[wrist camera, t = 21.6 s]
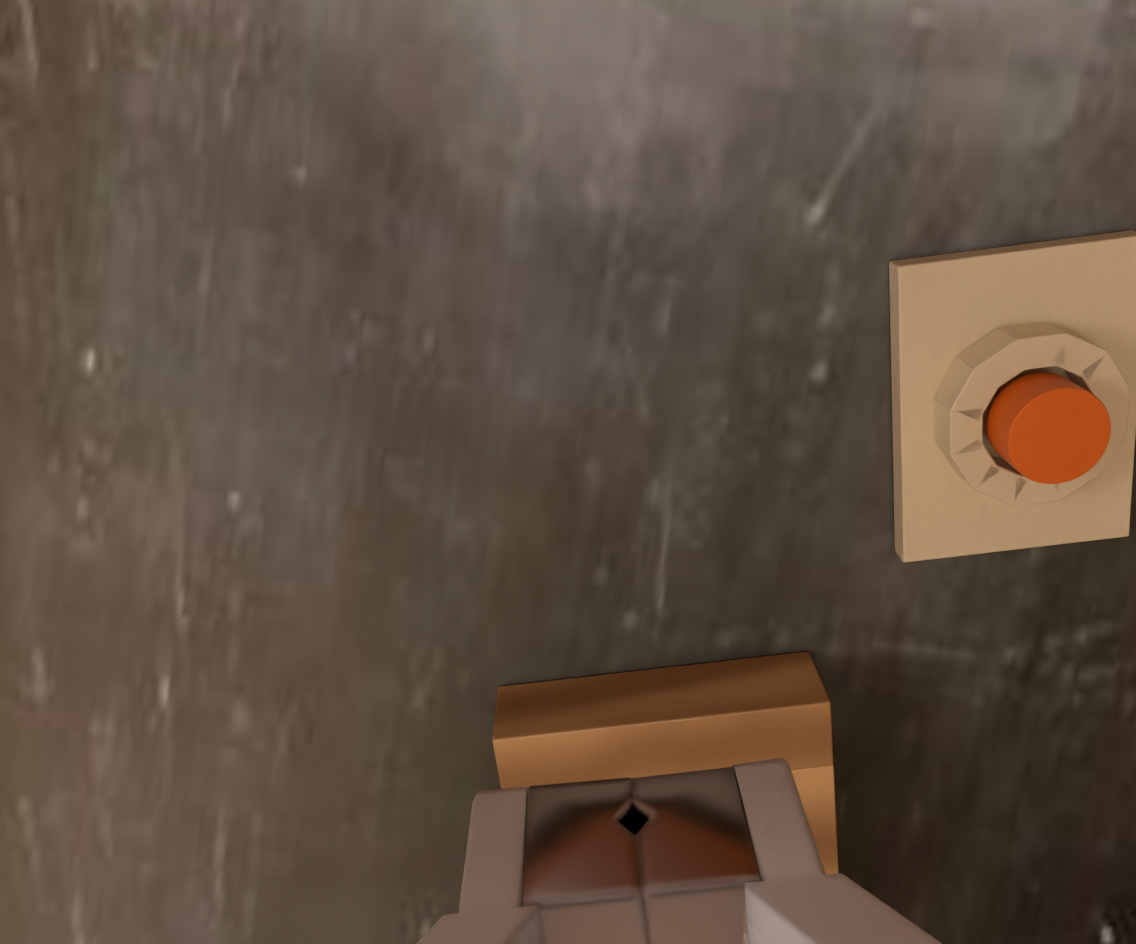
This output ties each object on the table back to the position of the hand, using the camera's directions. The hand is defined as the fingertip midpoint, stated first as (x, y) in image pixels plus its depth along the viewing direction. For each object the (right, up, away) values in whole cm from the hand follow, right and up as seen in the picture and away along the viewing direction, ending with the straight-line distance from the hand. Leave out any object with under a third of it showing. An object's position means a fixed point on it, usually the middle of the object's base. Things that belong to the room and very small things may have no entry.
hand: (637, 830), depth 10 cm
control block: (+17, +6, +31) cm, 36 cm away
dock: (+4, -11, +37) cm, 39 cm away
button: (+17, +5, +29) cm, 33 cm away
